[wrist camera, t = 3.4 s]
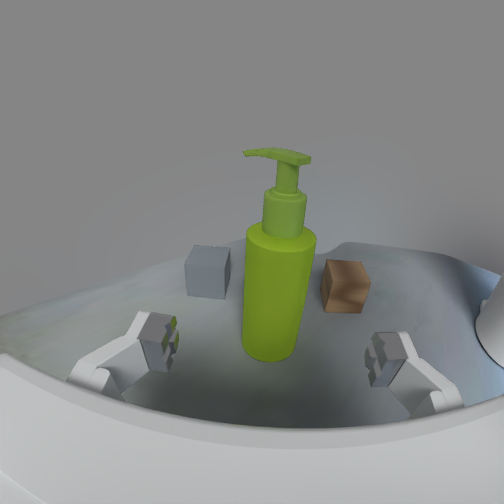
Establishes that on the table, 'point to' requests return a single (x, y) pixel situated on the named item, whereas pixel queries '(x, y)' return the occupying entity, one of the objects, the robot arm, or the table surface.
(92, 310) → the table surface
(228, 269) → the slate-grey block
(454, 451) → the robot arm
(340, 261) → the walnut block
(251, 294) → the soap dispenser
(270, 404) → the table surface
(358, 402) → the table surface
